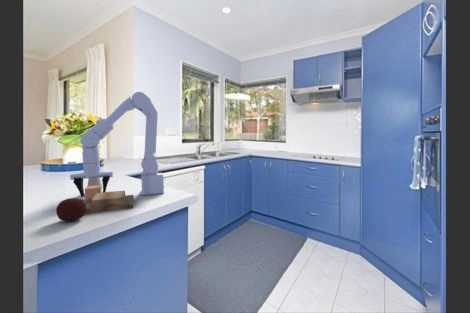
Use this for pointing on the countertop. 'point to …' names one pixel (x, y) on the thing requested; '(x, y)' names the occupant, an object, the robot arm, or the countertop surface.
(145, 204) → the countertop surface
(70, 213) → the potato
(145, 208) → the countertop surface
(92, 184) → the salt shaker
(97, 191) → the cube
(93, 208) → the base
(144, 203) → the countertop surface
